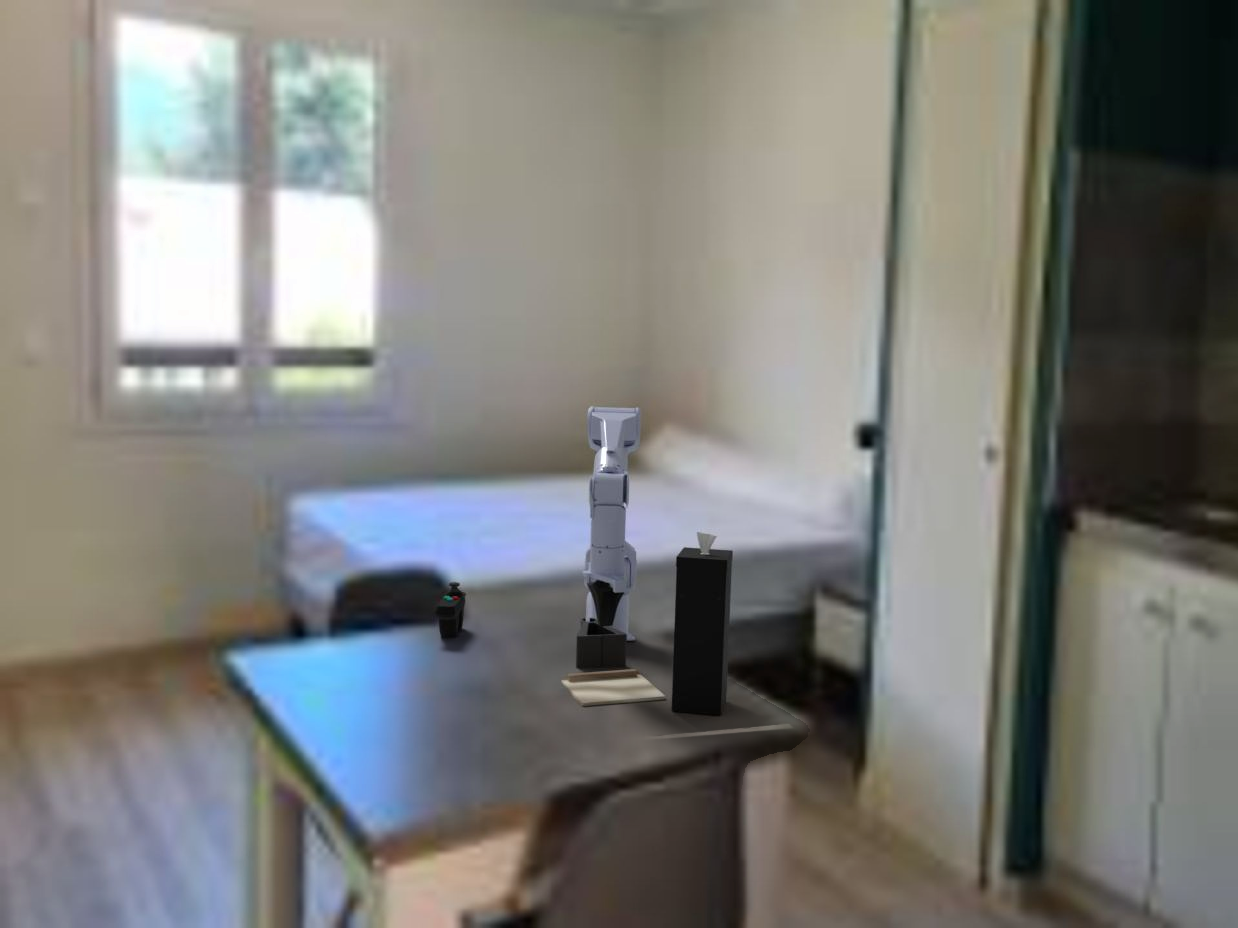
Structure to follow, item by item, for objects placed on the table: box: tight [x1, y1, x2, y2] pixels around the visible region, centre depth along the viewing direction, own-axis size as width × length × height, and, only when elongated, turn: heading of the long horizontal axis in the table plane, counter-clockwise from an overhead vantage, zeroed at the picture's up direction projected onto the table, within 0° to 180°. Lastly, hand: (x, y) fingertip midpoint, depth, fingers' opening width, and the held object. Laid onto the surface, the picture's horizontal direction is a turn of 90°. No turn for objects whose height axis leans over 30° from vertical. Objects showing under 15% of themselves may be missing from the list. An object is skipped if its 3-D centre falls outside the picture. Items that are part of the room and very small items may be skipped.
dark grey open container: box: [575, 617, 628, 669], centre depth 211 cm, size 9×6×12 cm
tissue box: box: [671, 531, 734, 716], centre depth 185 cm, size 8×8×28 cm
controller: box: [434, 581, 467, 638], centre depth 220 cm, size 4×12×10 cm, turn 177°
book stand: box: [561, 668, 666, 707], centre depth 193 cm, size 12×14×2 cm
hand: (605, 625), depth 196 cm, fingers closed
